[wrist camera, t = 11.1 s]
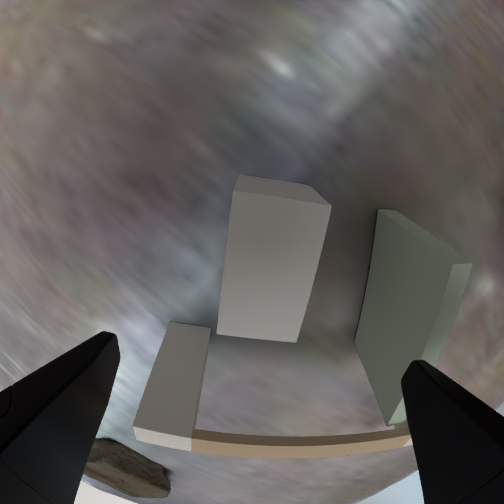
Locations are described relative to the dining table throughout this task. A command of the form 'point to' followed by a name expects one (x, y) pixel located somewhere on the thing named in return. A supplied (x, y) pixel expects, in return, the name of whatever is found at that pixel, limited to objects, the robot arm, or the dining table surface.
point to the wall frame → (188, 438)
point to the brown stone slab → (126, 470)
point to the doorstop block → (270, 258)
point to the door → (406, 305)
